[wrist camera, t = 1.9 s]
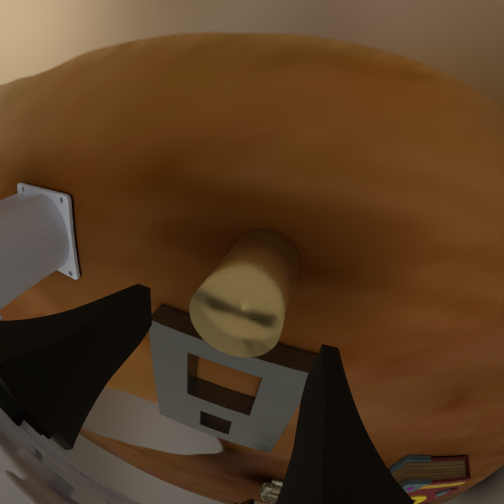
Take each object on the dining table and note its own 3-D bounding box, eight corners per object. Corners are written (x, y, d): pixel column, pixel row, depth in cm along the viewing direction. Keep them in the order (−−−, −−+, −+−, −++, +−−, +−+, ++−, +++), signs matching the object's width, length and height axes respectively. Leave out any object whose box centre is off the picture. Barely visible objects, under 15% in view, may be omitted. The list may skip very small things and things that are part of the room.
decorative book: (469, 452, 20) (473, 482, 16) (404, 493, 28) (403, 517, 23) (406, 452, 22) (406, 488, 18) (346, 491, 30) (342, 517, 25)
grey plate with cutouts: (168, 400, 27) (160, 413, 25) (161, 303, 21) (148, 318, 19) (273, 437, 25) (269, 452, 23) (317, 354, 19) (314, 374, 17)
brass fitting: (229, 279, 18) (188, 339, 13) (238, 220, 16) (191, 268, 11) (291, 297, 17) (269, 367, 12) (307, 238, 16) (291, 298, 10)
